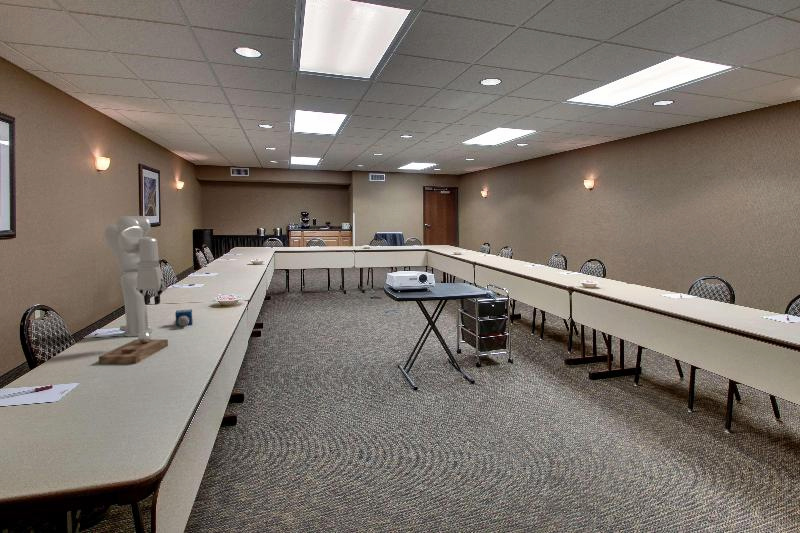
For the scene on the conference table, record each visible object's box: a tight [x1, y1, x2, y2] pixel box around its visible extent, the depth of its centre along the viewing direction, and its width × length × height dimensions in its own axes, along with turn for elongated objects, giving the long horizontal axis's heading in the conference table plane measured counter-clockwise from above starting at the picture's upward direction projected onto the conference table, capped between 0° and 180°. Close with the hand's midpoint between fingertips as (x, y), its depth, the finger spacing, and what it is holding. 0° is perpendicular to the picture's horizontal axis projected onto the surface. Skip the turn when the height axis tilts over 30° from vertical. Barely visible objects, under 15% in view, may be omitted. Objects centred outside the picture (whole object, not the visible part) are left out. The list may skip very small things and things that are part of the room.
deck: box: [98, 339, 169, 365], centre depth 184 cm, size 15×24×3 cm, turn 0°
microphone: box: [175, 309, 194, 328], centre depth 237 cm, size 8×8×25 cm
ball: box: [137, 332, 152, 343], centre depth 191 cm, size 5×5×5 cm
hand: (152, 303), depth 197 cm, fingers open, 3 cm apart
